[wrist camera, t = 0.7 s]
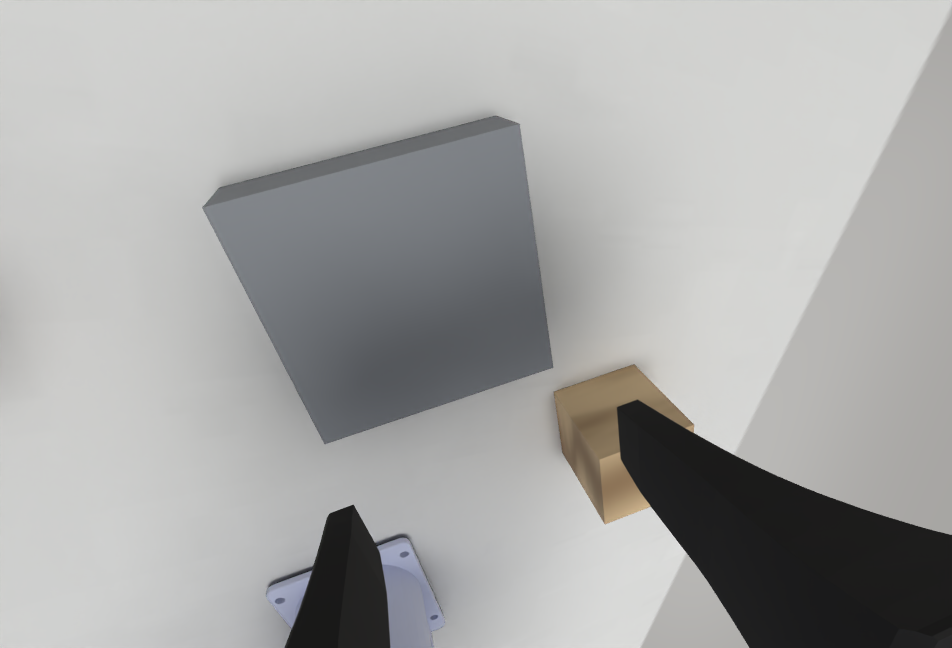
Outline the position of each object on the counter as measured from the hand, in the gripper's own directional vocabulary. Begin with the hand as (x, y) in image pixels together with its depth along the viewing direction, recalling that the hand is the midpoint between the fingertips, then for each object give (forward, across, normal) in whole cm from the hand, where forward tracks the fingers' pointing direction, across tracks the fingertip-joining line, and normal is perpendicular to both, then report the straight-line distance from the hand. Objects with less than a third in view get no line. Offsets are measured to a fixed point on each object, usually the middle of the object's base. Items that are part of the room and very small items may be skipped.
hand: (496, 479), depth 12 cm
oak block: (+10, -7, +9) cm, 15 cm away
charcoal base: (+10, +1, -2) cm, 10 cm away
